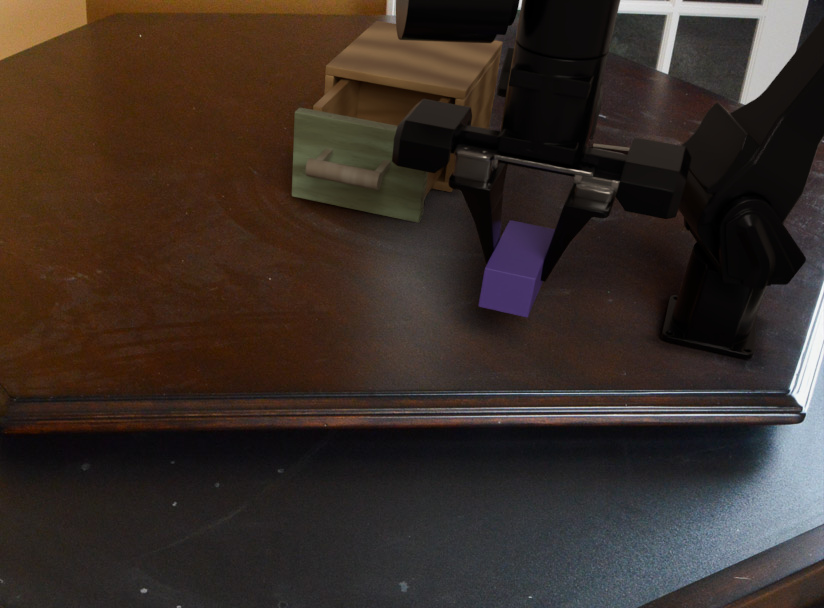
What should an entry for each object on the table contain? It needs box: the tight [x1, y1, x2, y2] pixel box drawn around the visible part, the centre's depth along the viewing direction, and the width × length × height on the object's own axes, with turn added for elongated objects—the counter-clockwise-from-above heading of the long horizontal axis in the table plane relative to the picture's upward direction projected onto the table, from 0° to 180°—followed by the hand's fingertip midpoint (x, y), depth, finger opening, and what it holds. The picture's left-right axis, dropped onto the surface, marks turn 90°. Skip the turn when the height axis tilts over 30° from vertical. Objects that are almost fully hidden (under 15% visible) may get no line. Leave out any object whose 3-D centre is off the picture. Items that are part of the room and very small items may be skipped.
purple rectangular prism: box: [477, 219, 556, 318], centre depth 74 cm, size 4×8×3 cm, turn 160°
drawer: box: [291, 78, 456, 223], centre depth 90 cm, size 18×11×7 cm, turn 160°
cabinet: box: [323, 20, 504, 193], centre depth 98 cm, size 15×13×9 cm
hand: (517, 273), depth 75 cm, fingers closed on purple rectangular prism, 3 cm apart
